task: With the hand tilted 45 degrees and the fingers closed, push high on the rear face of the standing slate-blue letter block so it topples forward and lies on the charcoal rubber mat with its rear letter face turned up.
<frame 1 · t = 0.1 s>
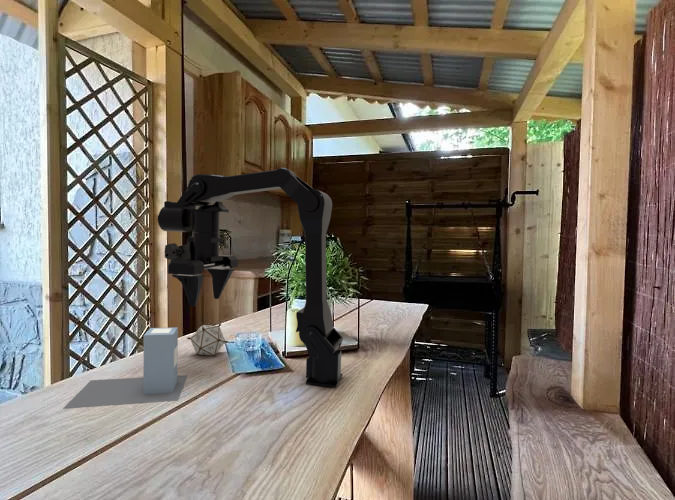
hand: (205, 302, 86), 15 cm above the table, tool pointing down, fingers open, 9 cm apart
game die: (207, 357, 94), on the table
mat: (132, 392, 72), on the table
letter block: (161, 387, 73), point 1 cm above the table, touching mat
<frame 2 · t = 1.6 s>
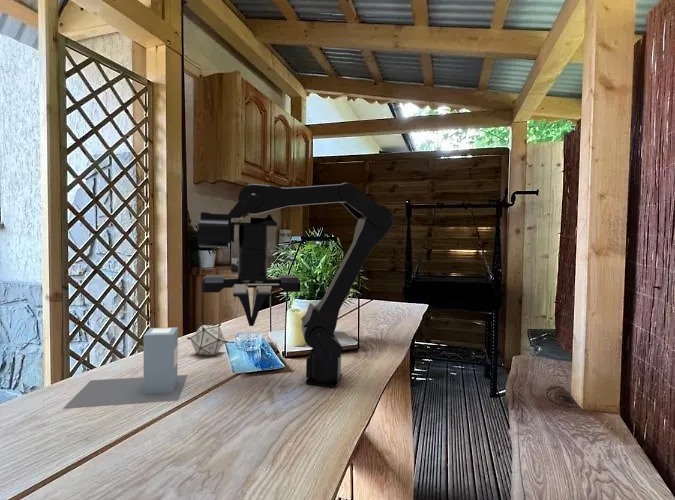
hand: (251, 325, 78), 12 cm above the table, tool pointing down, fingers closed
nothing on the table moved.
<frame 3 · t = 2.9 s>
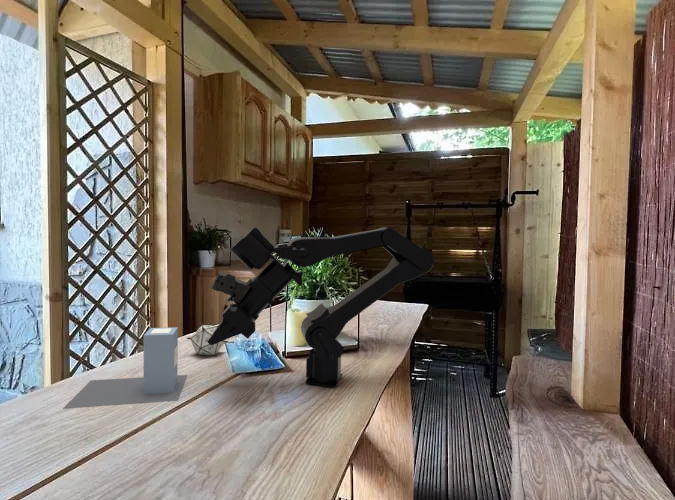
hand: (209, 343, 75), 9 cm above the table, tool tilted 45°, fingers closed
nothing on the table moved.
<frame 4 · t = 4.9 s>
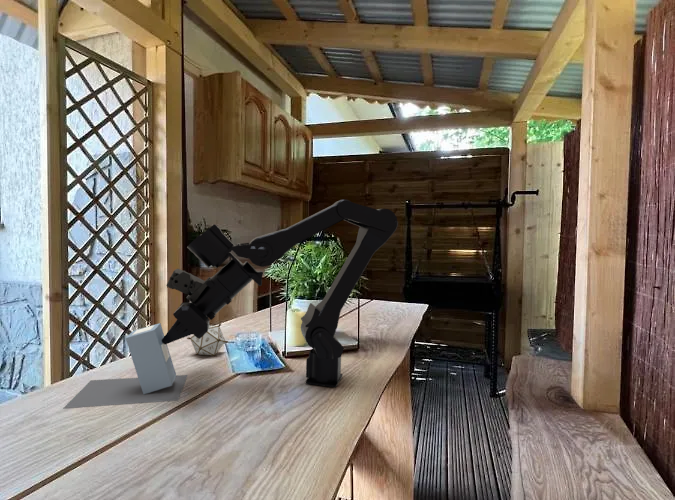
hand: (163, 342, 73), 9 cm above the table, tool tilted 45°, fingers closed, pressing on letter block
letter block: (160, 384, 73), point 1 cm above the table, tilted 16°, touching gripper, mat
everything else where it was.
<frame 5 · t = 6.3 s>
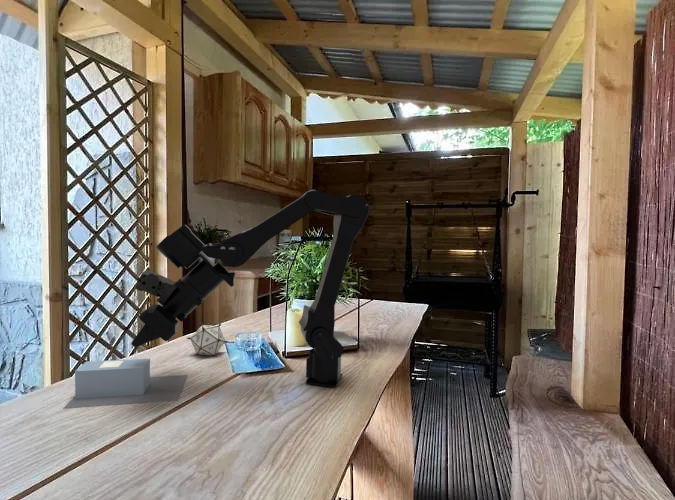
hand: (133, 345, 72), 9 cm above the table, tool tilted 45°, fingers closed
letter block: (146, 375, 73), point 3 cm above the table, tilted 90°, touching mat
everything else where it was.
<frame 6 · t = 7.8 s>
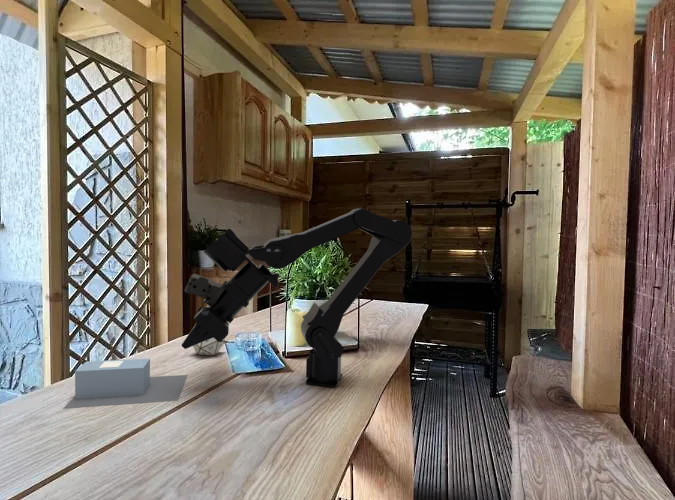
hand: (183, 346, 74), 8 cm above the table, tool tilted 45°, fingers closed
nothing on the table moved.
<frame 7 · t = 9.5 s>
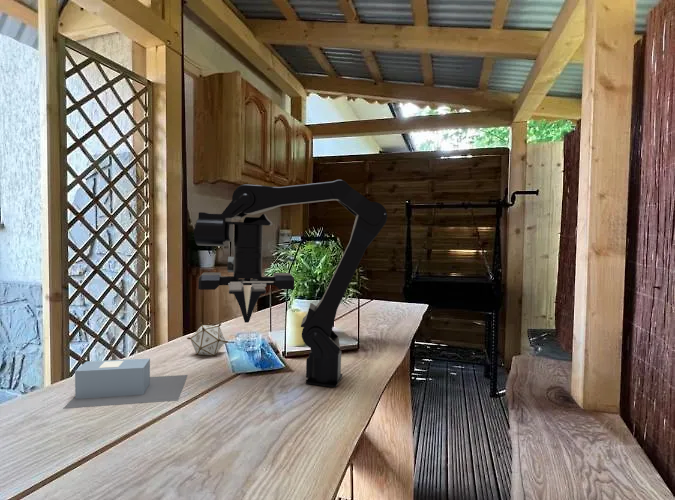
hand: (246, 322, 80), 12 cm above the table, tool pointing down, fingers closed
nothing on the table moved.
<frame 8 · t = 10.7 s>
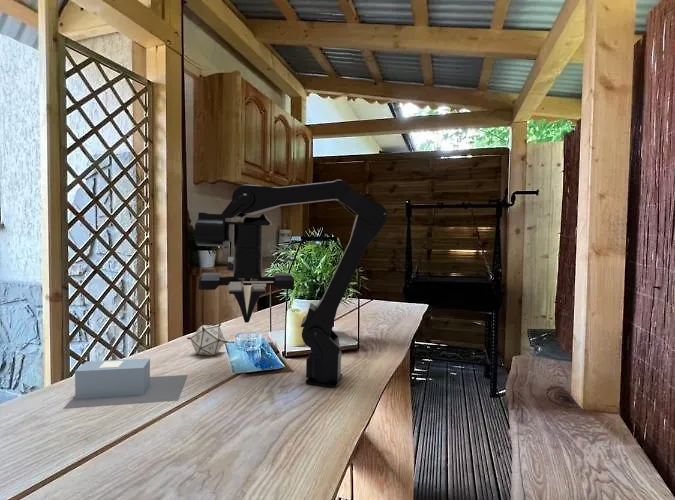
hand: (246, 322, 80), 12 cm above the table, tool pointing down, fingers closed
nothing on the table moved.
at the end: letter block tilted 90°; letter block inside the target area on the mat (2.5 cm from its centre), point 3.1 cm above the mat's base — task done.
